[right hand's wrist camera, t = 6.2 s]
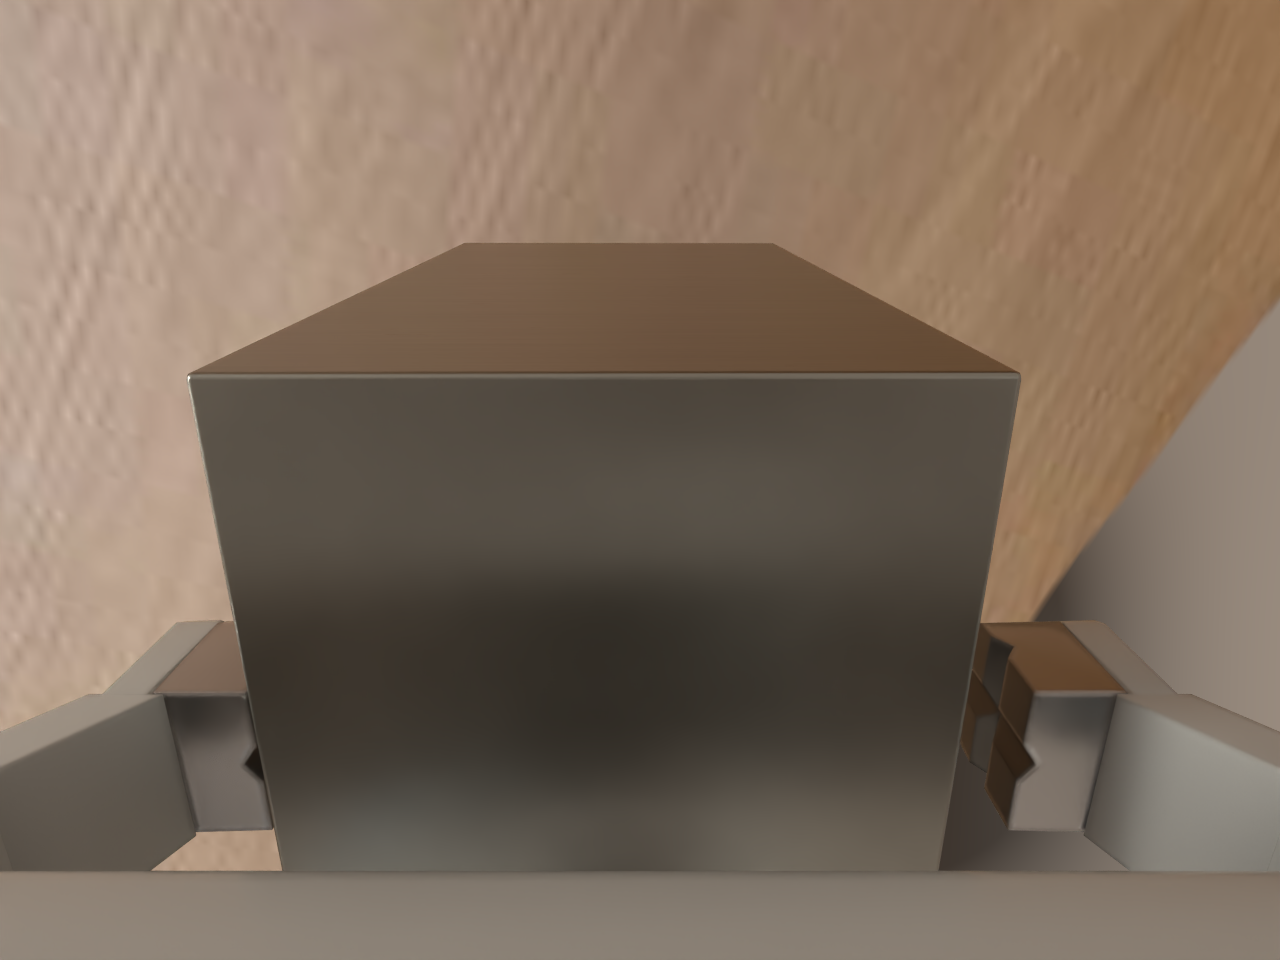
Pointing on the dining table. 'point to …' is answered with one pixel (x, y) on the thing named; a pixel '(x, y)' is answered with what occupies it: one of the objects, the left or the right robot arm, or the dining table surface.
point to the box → (607, 563)
